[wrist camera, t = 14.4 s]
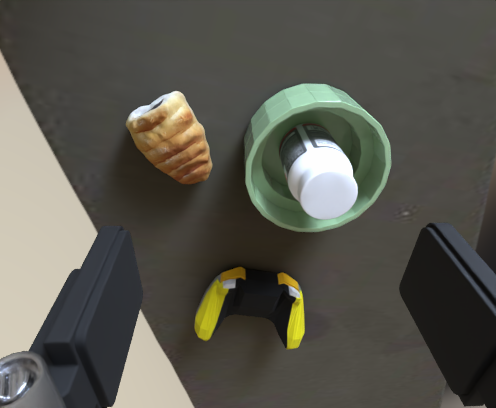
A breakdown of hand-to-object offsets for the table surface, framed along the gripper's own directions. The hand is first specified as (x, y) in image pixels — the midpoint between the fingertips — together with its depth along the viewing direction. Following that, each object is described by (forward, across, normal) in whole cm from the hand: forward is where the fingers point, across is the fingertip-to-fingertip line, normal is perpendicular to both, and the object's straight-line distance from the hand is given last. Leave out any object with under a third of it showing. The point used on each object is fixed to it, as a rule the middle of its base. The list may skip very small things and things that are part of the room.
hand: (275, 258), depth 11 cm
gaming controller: (+24, -2, +29) cm, 38 cm away
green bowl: (+25, -6, +7) cm, 27 cm away
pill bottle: (+24, -6, +7) cm, 26 cm away
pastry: (+25, +7, +6) cm, 27 cm away
